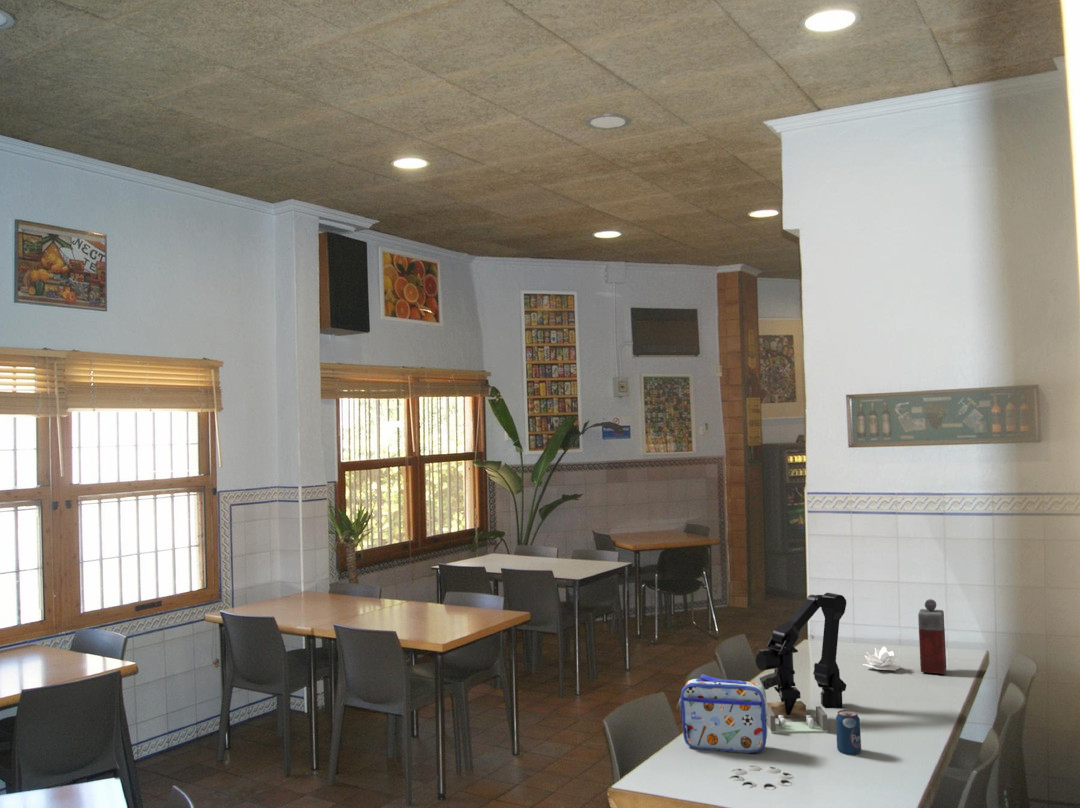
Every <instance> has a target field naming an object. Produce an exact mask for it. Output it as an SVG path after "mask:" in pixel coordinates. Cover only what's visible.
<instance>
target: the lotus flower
mask: <svg viewBox="0 0 1080 808" xmlns="http://www.w3.org/2000/svg"><path fill="white" fill-rule="evenodd" d="M866 654H868V655H865V654H864V658H865V659H866V662H867V663H868V664H867V663H862V665H863V666H865V667H869V668H871V669H875V670H883V671H896V670H899V669H900V668H901V665H897V664H894V662H897V661H898V660H900V657H898V658H896V659H894V658H895V653H894V651H893V650H891V651H888V648H887V647H886V646H885V645H884V646H882V647H881V649H877V648H876V646H874V653H873V654H869V652H866Z"/></svg>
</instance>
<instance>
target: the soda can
mask: <svg viewBox="0 0 1080 808" xmlns="http://www.w3.org/2000/svg"><path fill="white" fill-rule="evenodd" d="M835 730H836V735H835V736H836V748H837V751H838V752H839V753H841V754H842V755H849V756H850V755H851V756H853V755H854V756H855V755H860V753H861V751H862V738H861V737H862V736H861V735H862V734H861V733H862V732H861V720H860V716H859V715H858V712H857V711H854V710H851V709H840V710H838V711H837V714H836V717H835Z"/></svg>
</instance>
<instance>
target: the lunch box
mask: <svg viewBox="0 0 1080 808" xmlns="http://www.w3.org/2000/svg"><path fill="white" fill-rule="evenodd" d="M680 692H681V693H680V697H679V699H678V700H679V701H678V703H677V706H676V709H677V710H678V709H679V715H681V723H682V735H683V739H684V742H685V744H686V745H687V747H690V748H692V749H695V748H697V749H696V750H699V749H700V750H706V749H709V751H716V750H720V751H719V752H725V751H730V752H729V753H738V752H739V753H742V754H743V753H745V754H747V753H748V754H752V753H760V752H761V751H763V750H764V749H765V747H766V744H767V738H768V727H767V726H768V720H767V703H768V702H767V692H766V690H765V689H764V688H763V686H762V684H759V683H757V682H751V681H747V680H745V681H744V680H737V679H723V678H716V677H712V676H710V675H707V674H703V673H702V674H701V675H700V678H693V679H689V680H688V681H687V682H686V683H685V685H684V686H683V688H682V689H681V691H680Z"/></svg>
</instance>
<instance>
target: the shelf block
mask: <svg viewBox="0 0 1080 808" xmlns="http://www.w3.org/2000/svg"><path fill="white" fill-rule="evenodd" d="M767 707H770V708H771V710H772V712H773V713H774V715H775V719H776V718H779V715H783V716H784V718H795V717H799V718H800V717H806V715H807V705H806V703H804V701H802V700H796V702H795V704H794V707H793V709H792V711H791V714H790V715H787V714H786V709H785V705H784V702H781V701H774V702H773V701H772V702H767Z"/></svg>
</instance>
